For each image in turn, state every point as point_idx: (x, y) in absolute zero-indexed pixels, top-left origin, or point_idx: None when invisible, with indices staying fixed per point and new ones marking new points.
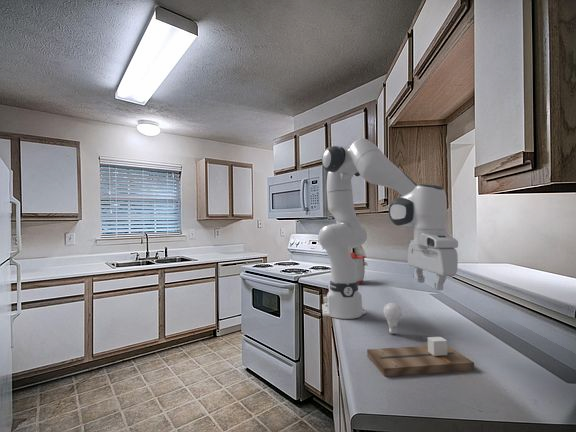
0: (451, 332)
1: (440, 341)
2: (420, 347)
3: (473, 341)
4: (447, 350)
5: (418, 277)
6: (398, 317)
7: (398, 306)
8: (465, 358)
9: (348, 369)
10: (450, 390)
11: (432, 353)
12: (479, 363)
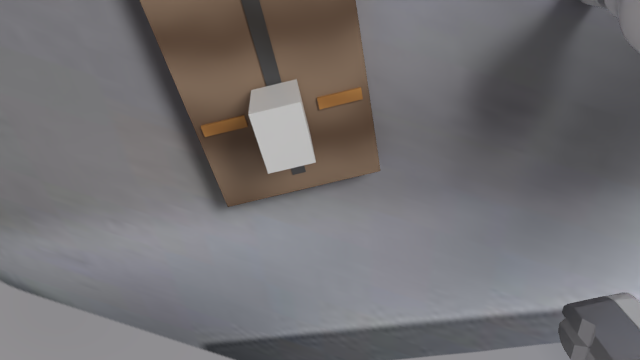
0: (537, 226)
1: (259, 144)
2: (350, 61)
3: (449, 260)
4: (322, 158)
5: (628, 347)
6: (621, 24)
7: None
8: (256, 193)
9: None
10: (41, 67)
11: (262, 89)
12: (282, 221)
